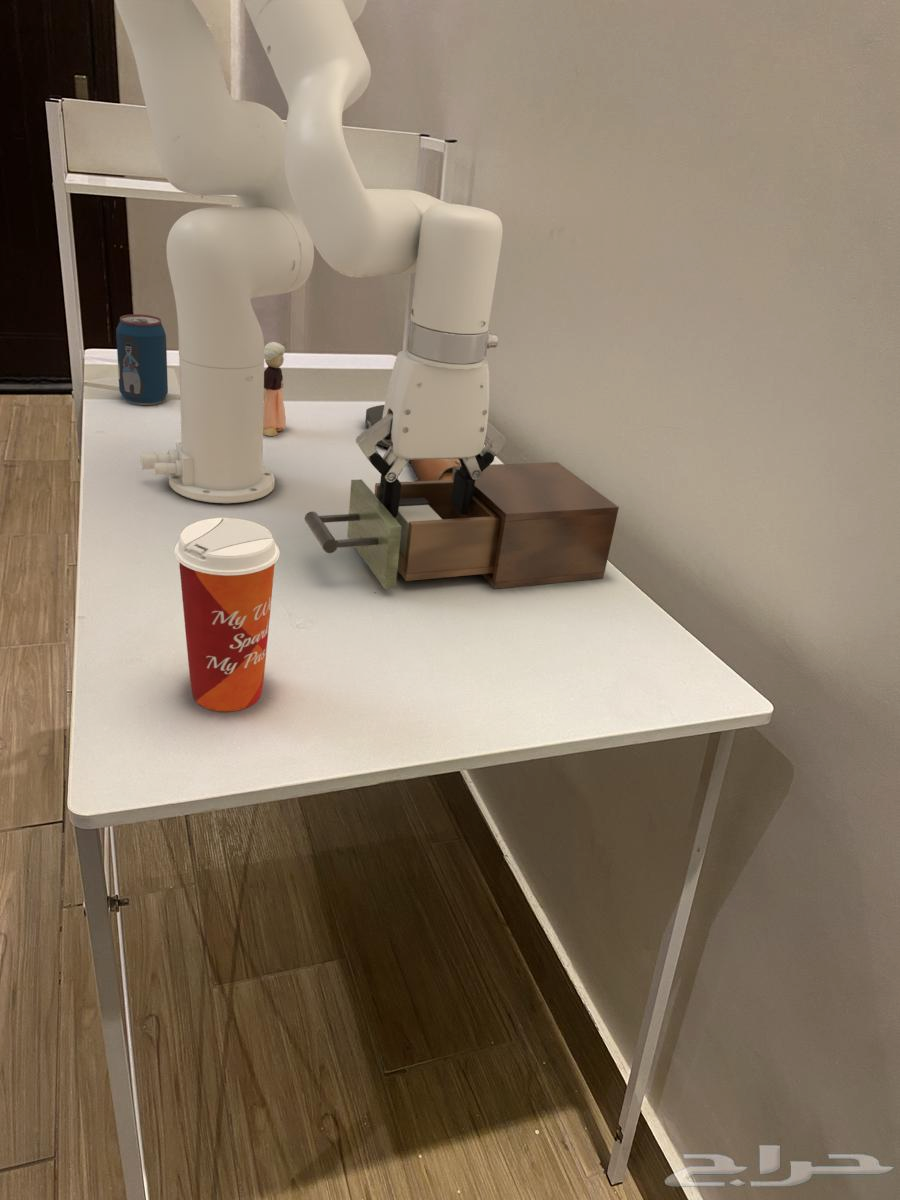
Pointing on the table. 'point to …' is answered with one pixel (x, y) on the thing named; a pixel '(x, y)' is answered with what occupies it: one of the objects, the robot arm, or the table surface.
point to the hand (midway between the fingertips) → (424, 510)
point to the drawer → (415, 534)
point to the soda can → (142, 359)
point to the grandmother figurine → (273, 390)
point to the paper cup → (226, 608)
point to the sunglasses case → (433, 468)
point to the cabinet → (545, 524)
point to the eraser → (413, 516)
